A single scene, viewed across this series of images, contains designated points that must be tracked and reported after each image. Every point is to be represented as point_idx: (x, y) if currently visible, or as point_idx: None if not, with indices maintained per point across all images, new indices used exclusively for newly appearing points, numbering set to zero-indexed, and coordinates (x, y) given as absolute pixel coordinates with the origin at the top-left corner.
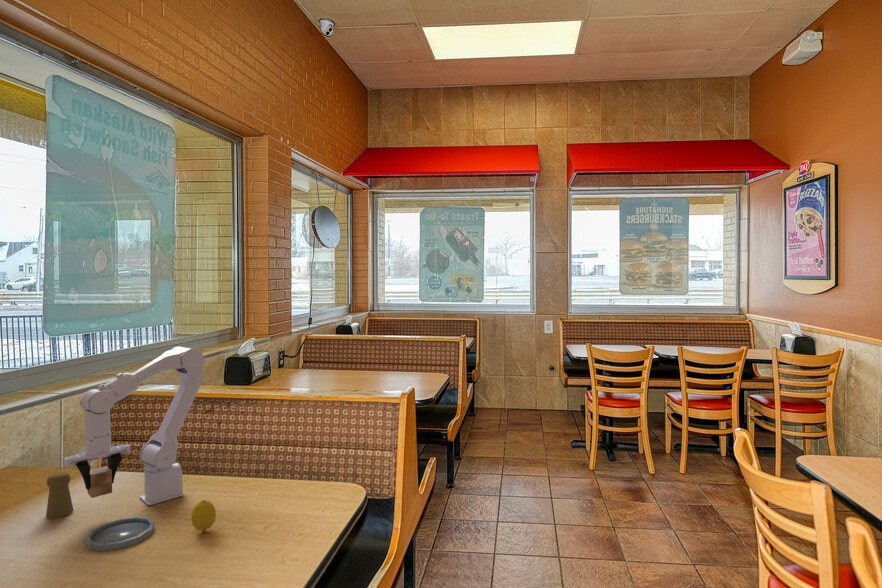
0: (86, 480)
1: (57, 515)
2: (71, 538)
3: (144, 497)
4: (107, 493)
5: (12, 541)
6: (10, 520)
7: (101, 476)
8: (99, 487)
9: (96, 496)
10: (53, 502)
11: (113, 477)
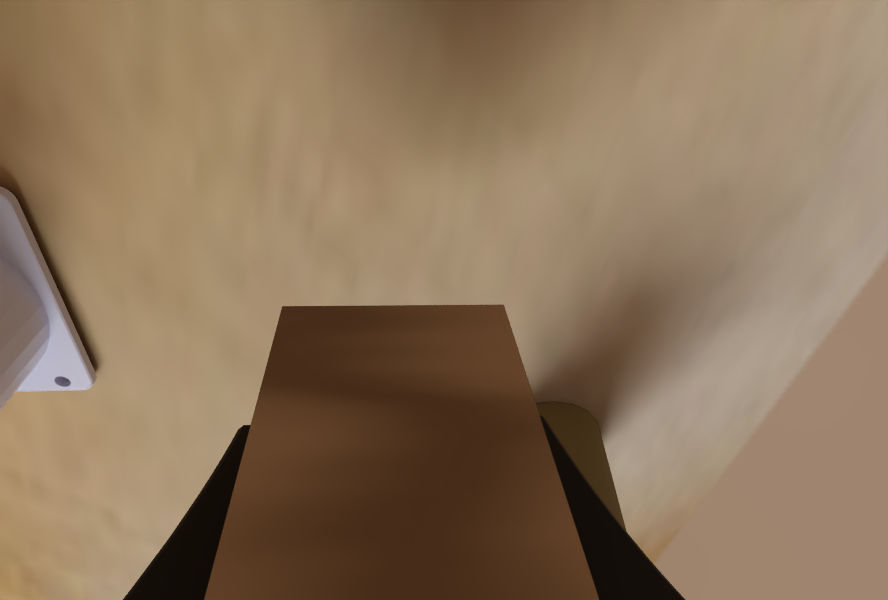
0: (611, 528)
1: (573, 417)
2: (678, 3)
3: (54, 346)
4: (336, 307)
5: (850, 274)
6: (696, 494)
7: (404, 533)
8: (429, 380)
9: (455, 308)
10: (610, 498)
11: (212, 494)
